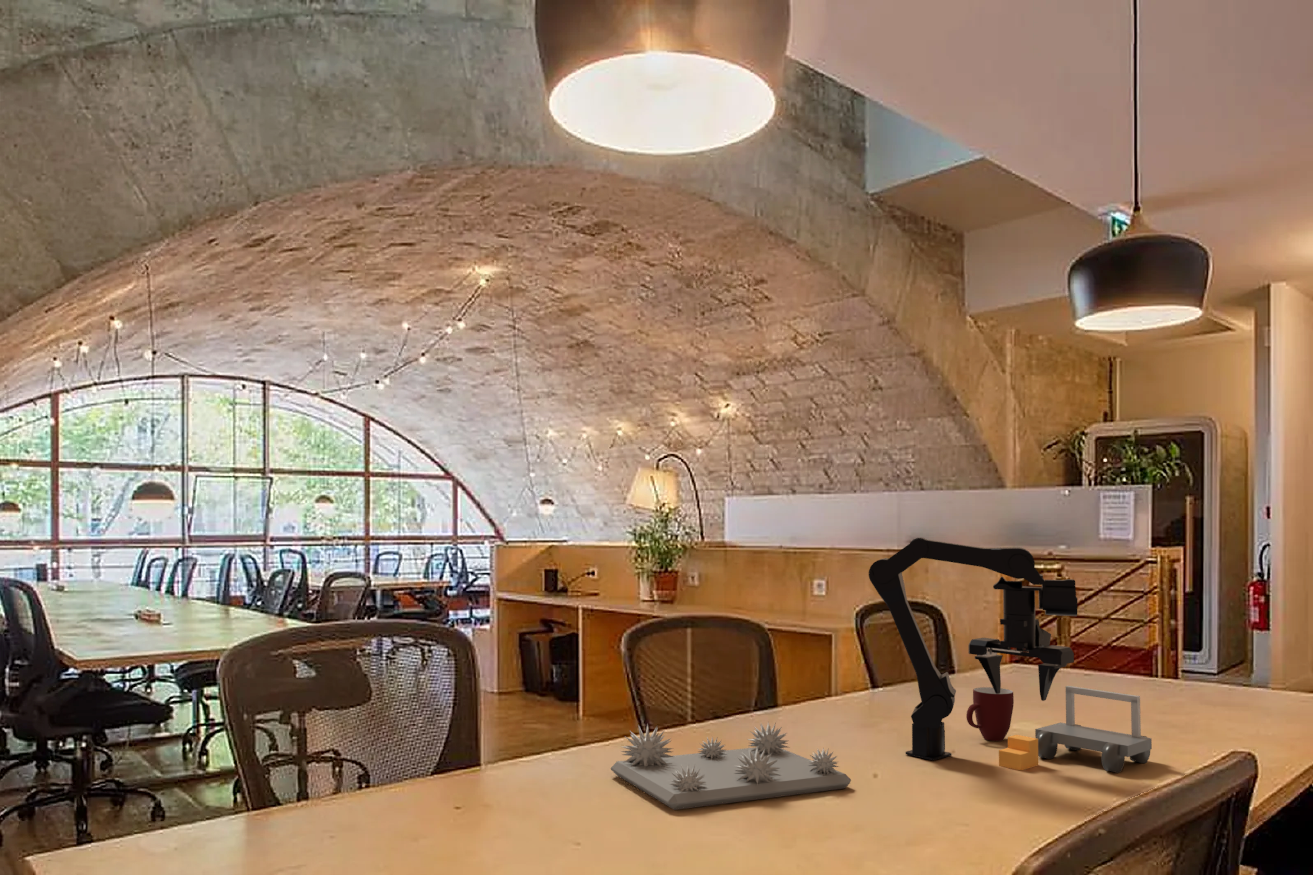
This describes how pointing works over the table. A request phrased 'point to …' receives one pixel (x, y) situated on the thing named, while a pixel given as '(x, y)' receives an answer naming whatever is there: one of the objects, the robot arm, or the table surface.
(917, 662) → the robot arm
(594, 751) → the table surface
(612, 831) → the table surface
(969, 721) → the mug
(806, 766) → the decorative tray
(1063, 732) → the trolley
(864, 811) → the table surface
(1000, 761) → the orange stair block
